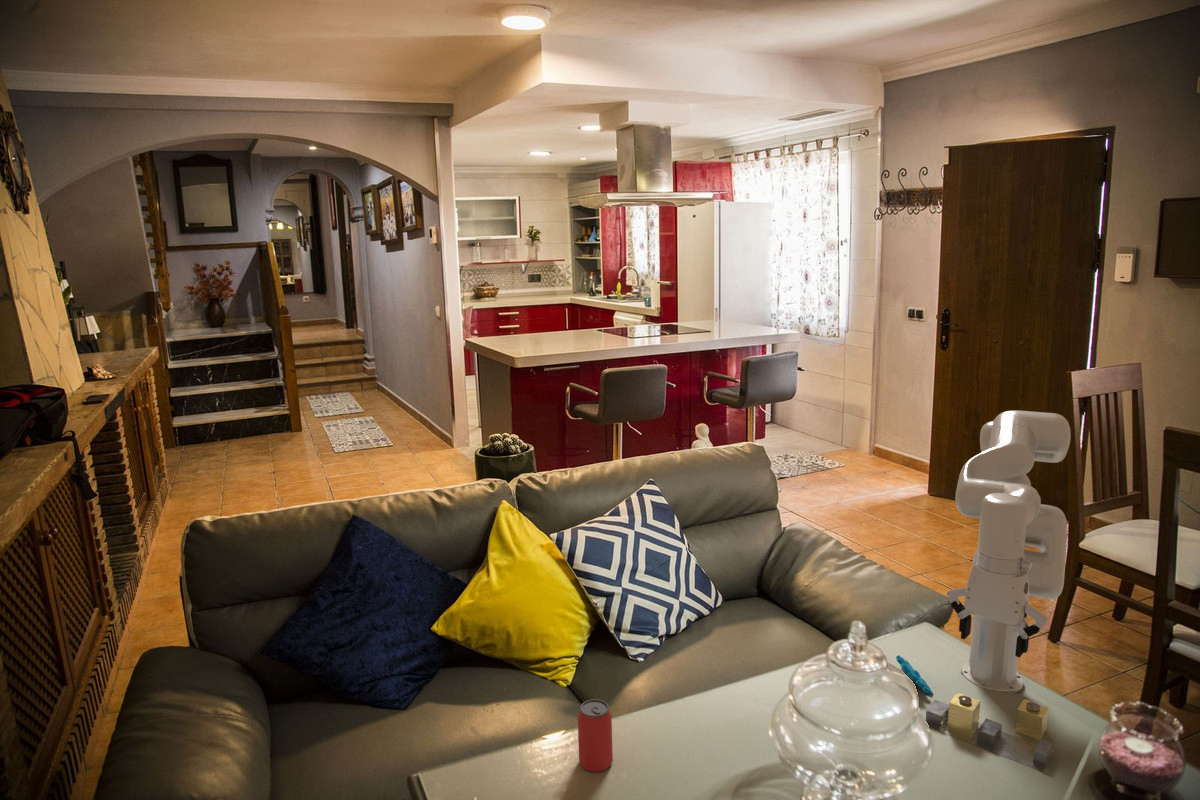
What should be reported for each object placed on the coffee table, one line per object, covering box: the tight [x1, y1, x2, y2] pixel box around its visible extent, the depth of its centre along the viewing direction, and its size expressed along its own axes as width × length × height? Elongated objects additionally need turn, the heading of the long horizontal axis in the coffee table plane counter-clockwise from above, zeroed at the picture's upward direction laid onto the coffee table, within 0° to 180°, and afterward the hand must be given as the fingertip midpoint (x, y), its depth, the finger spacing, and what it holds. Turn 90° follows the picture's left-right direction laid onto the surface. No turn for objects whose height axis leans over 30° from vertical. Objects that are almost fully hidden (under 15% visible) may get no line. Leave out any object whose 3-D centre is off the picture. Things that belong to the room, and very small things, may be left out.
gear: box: [895, 654, 934, 696], centre depth 173 cm, size 11×6×10 cm
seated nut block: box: [947, 692, 981, 738], centre depth 157 cm, size 4×4×7 cm
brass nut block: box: [1015, 699, 1050, 741], centre depth 156 cm, size 4×4×7 cm
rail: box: [925, 699, 1054, 773], centre depth 155 cm, size 8×22×4 cm, turn 48°
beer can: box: [577, 698, 614, 773], centre depth 151 cm, size 7×7×12 cm
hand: (992, 645), depth 147 cm, fingers open, 9 cm apart
